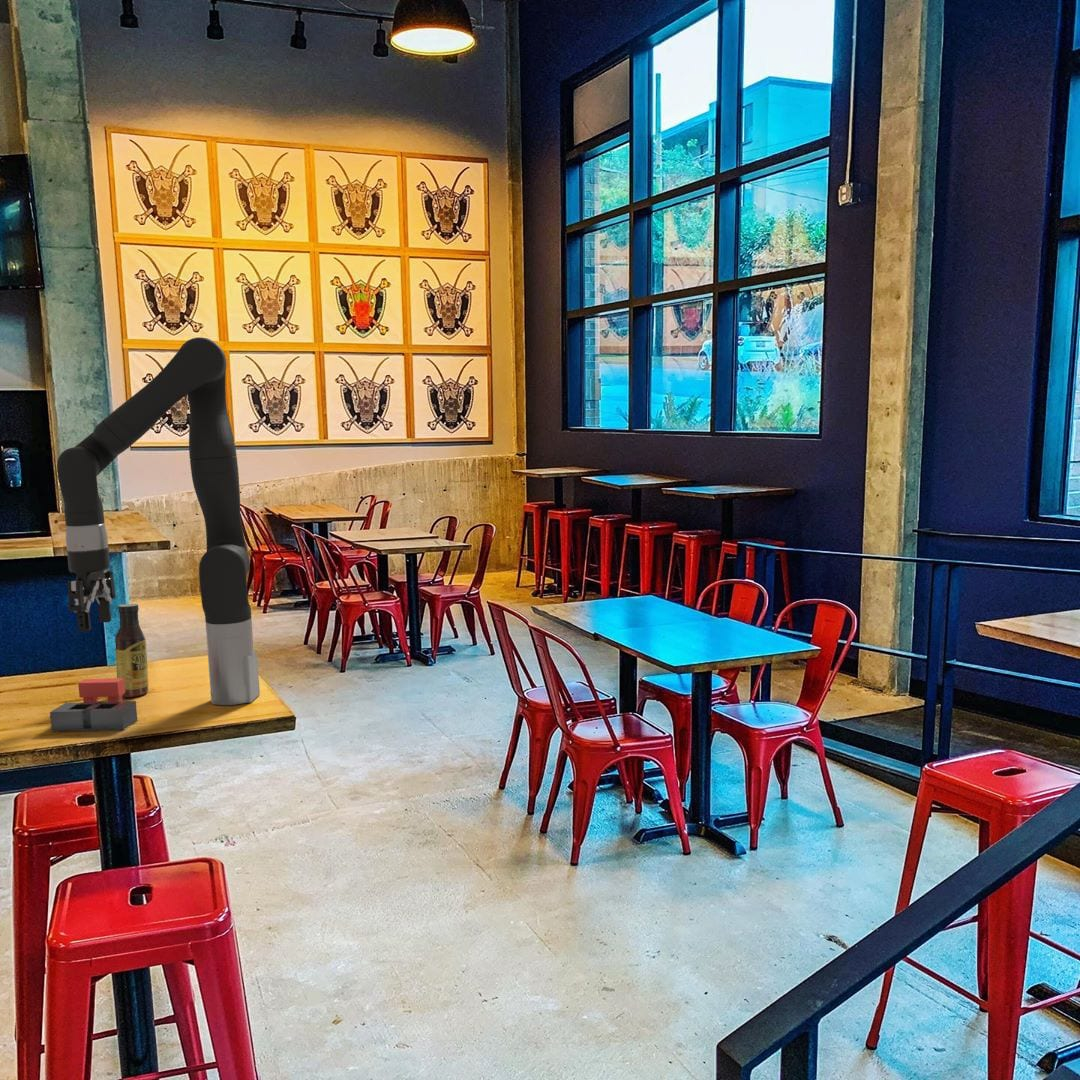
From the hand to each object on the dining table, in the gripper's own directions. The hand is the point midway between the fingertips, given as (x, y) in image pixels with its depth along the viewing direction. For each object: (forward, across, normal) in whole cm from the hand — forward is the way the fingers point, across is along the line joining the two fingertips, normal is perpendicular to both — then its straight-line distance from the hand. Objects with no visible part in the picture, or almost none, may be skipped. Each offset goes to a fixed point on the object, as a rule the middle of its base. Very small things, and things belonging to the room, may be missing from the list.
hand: (95, 626), depth 191 cm
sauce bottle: (+18, +14, 0) cm, 23 cm away
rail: (+18, -8, -2) cm, 20 cm away
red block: (+18, 0, 0) cm, 18 cm away
